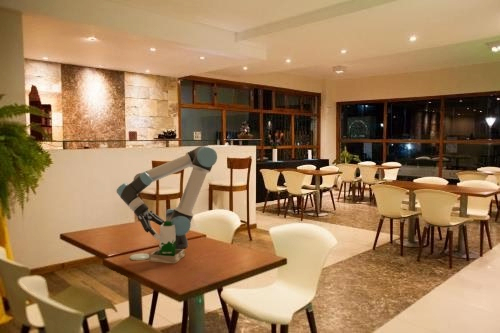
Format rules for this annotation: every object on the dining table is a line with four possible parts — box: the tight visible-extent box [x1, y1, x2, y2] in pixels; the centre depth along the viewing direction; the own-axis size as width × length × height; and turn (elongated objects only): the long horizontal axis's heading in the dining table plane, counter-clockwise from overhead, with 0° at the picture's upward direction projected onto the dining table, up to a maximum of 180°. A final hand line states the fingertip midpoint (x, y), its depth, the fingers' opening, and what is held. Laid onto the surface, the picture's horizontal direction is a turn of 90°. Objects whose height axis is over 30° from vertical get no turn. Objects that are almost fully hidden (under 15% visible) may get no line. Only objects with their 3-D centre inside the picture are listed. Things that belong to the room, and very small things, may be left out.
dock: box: [148, 248, 186, 264], centre depth 212 cm, size 15×15×4 cm
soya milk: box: [158, 220, 176, 256], centre depth 211 cm, size 9×9×20 cm
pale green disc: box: [129, 253, 150, 262], centre depth 212 cm, size 11×11×1 cm
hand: (164, 236), depth 211 cm, fingers open, 13 cm apart
